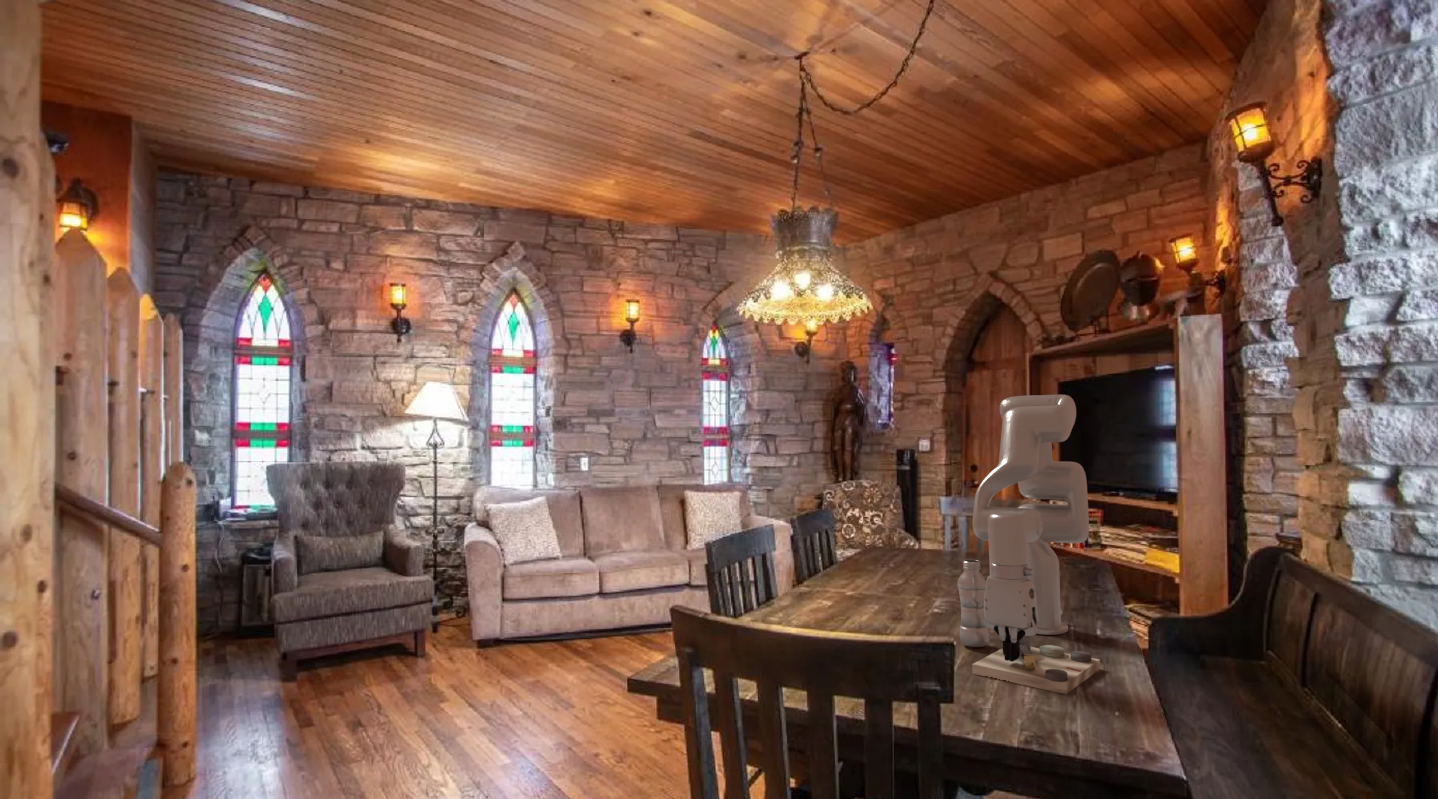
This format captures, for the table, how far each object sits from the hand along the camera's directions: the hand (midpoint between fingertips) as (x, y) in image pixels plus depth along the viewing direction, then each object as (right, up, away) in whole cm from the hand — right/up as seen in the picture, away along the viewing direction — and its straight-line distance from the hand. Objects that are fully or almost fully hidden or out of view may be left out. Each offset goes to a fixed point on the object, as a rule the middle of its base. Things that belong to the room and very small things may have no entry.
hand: (1011, 659), depth 160 cm
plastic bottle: (-1, -4, +20) cm, 20 cm away
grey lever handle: (+3, -1, +2) cm, 4 cm away
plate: (+6, -3, +1) cm, 7 cm away
